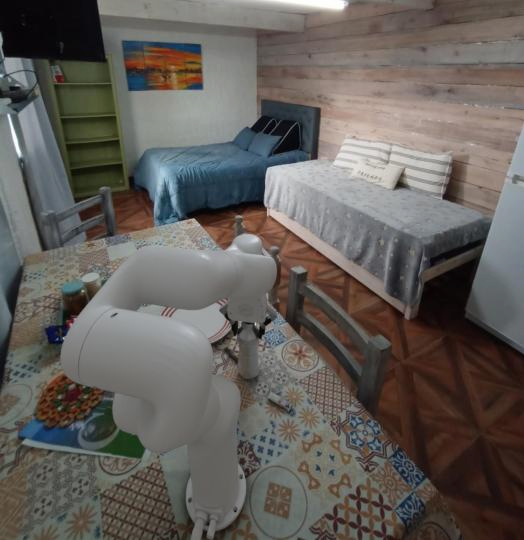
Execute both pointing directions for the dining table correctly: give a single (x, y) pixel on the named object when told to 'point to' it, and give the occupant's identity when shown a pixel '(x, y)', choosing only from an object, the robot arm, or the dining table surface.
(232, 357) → the walnut chopstick
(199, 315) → the dinner plate
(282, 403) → the granola bar
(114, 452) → the dining table surface
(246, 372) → the plastic bottle
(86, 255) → the dining table surface
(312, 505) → the dining table surface
